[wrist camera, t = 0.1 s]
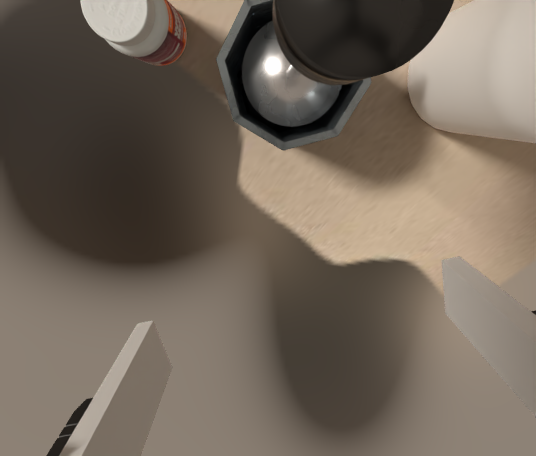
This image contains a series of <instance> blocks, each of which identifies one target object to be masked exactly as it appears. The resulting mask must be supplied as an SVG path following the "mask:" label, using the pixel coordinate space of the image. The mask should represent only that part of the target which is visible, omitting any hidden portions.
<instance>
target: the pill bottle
mask: <svg viewBox="0 0 536 456" xmlns="http://www.w3.org/2000/svg"><path fill="white" fill-rule="evenodd" d="M81 7H82V11H83V14H84V16H85V19H86V20H87V22H88V24H89V25H90V27H91V28H92V29H93V30H94V31H95V32H96V33H97V34H98V35H99V36H101V37H102V38H104V39H106V41H107V42H108V43H109V44H110V45H111V46H112V47H113V48H115V49H116V50H118V51H120V52H122V53H123V54H126V55H129V56H131V57H134V58H137V59H139V60H142V61H144V62H147V63H149V64H153V65H157V66H163V65H168V64H171V63H173V62H175V61H176V60H177V59H178V58H179V57H180V56H181V55H182V53H183V52H184V50H185V47H186V43H187V31H186V26H185V23H184V21H183V19H182V17H181V16H180V14H179V13H178V11H177V10H176V9H175V8H174V7H173V6H172V5H171V4H170V3H169V2H168V1H167V0H81Z"/></svg>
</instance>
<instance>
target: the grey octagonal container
mask: <svg viewBox="0 0 536 456" xmlns="http://www.w3.org/2000/svg"><path fill="white" fill-rule="evenodd" d="M271 21H273V0H244V2H243V5H242V7H241V9H240V11H239V13H238V15H237V17H236V19H235V21H234V23H233V25H232V27H231V29H230V31H229V34H228V36H227V38H226V40H225V42H224V44H223V46H222V48H221V50H220V52H219V54H218V56H217V58H216V61H217V64H218V68H219V71H220V75H221V78H222V82H223V85H224V89H225V92H226V96H227V100H228V103H229V107H230V110H231V114H232V117H233V121H234V122H236V123H238V124H239V125H241V126H243V127H244V128H246V129H248V130H249V131H251V132H253V133H254V134H256V135H258V136H259V137H261V138H263V139H264V140H266V141H268V142H269V143H271V144H273V145H274V146H276V147H278V148H279V149H281V150H287V149H291V148H294V147H298V146H302V145H306V144H309V143H313V142H317V141H321V140H324V139H328V138H332V137H336V136H338V135H339V133H340V132H341V130H342V129H343V127H344V126H345V124H346V122H347V121H348V119H349V118H350V116H351V114H352V113H353V111H354V110H355V108H356V107H357V105H358V103H359V102H360V100H361V99H362V97H363V95H364V94H365V92H366V91H367V89H368V88H369V86H370V84H371V77H370V78H367V79H363V80H360V81H356V82H353V83H349V84H344V85H341V88H340V91H339V94H338V96H337V98H336V100H335V101H334V103H333V104H332V106H331V107H330V108H329V109H328V110H327V112H325V113H324V114H323V115H322V116H321V117H319V118H318V119H316V120H315V121H313V122H311V123H308V124H305V125H301V126H293V127H290V126H282V125H278V124H275V123H273V122H271V121H269V120H267V119H266V118H264V117H263V116H261V115H260V114H259V113H258V112H257V111H256V110H255V108H254V107H253V106H252V104H251V103H250V101H249V99H248V97H247V95H246V92H245V89H244V85H243V80H242V65H243V59H244V55H245V52H246V49H247V47H248V45H249V43H250V41H251V40H252V38H253V37H254V36H255V34H256V33H257V32H258V31H259V30H260V29H261V28H262V27H263V26H265V25H266V24H267V23H269V22H271Z"/></svg>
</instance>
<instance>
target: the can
mask: <svg viewBox="0 0 536 456" xmlns="http://www.w3.org/2000/svg"><path fill="white" fill-rule="evenodd" d="M407 88H408V92H409V96H410V100H411V104H412V106H413V107H414V109H415V110H416V112H417V113H418V115H419V116H420V118H421V119H422V120H424V121H425V122H426V123H428V124H429V125H431V126H432V127H433V128H436V129H440V130H444V131H447V132H452V133H460V134H467V135H475V136H483V137H490V138H498V139H506V140H513V141H521V142H529V143H536V0H473V1H472V2H470V3H468V4H466V5H464V6H462V7H460V8H458V9H456V10H454V11H452V12H450V13H448V16H447V18H446V19H445V21H444V23H443V25H442V26H441V28H440V30H439V31H438V32H437V34H436V35H435V36H434V38H433V39H432V40H431V41H430V43H429V44H428V45H427V46H426V47H425V48H424V49H423V50H422V51H421V52H420V53H418V54H417V55H416V56H415V57H414V58H413V59H411V61H410V64H409V67H408V82H407Z"/></svg>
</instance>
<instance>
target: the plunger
mask: <svg viewBox="0 0 536 456" xmlns="http://www.w3.org/2000/svg"><path fill="white" fill-rule="evenodd" d="M453 1H454V0H273V21H271V22H269V23H267V24H266V25H265V26H263V27H262V28H261V29H260V30H259V31H258V32H257V33H256V34H255V36H254V37H253V38H252V40H251V41H250V43H249V45H248V47H247V49H246V52H245V55H244V59H243V65H242V80H243V85H244V89H245V92H246V95H247V97H248V99H249V101H250V103H251V104H252V106H253V107H254V108H255V110H256V111H257V112H258V113H259V114H260V115H261V116H263V117H264V118H266V119H267V120H269V121H271V122H273V123H275V124H278V125H282V126H290V127H293V126H301V125H305V124H308V123H311V122H313V121H315V120H316V119H318V118H319V117H321V116H322V115H323V114H324V113H325V112H327V110H328V109H329V108H330V107H331V106H332V104H333V103H334V101H335V100H336V98H337V96H338V94H339V91H340V88H341V85H344V84H349V83H353V82H356V81H360V80H363V79H367V78H370V77H373V76H377V75H380V74H383V73H386V72H389V71H392V70H394V69H396V68H398V67H400V66H402V65H404V64H405V63H407V62H408V61H410V60H411V59H413V58H414V57H415V56H416V55H417V54H418V53H420V52H421V51H422V50H423V49H424V48H425V47H426V46H427V45H428V44H429V43H430V41H431V40H432V39H433V38H434V36H435V35H436V34H437V32H438V31H439V30H440V28H441V26H442V25H443V23H444V21H445V19H446V18H447V16H448V13H449V11H450V9H451V7H452V4H453Z"/></svg>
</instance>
